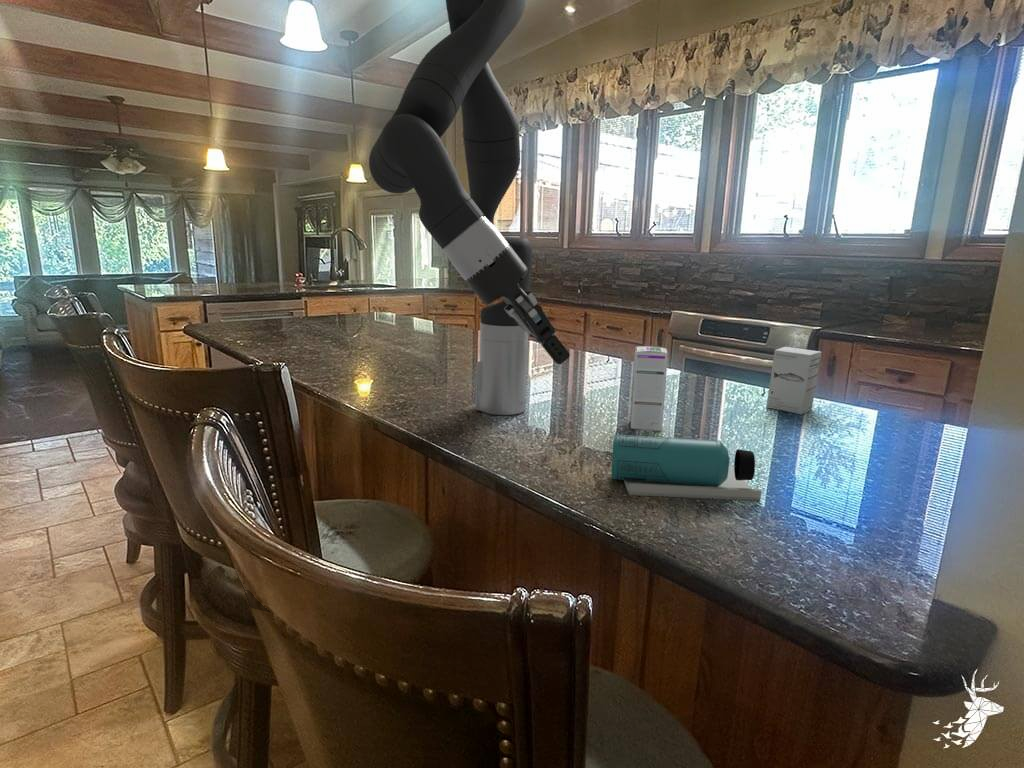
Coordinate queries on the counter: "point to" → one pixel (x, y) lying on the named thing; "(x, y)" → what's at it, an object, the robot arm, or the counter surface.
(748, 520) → the counter surface
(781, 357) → the supplement box
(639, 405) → the syrup box
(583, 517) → the counter surface
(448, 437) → the counter surface
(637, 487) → the panel with raised edges
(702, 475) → the beverage bottle
